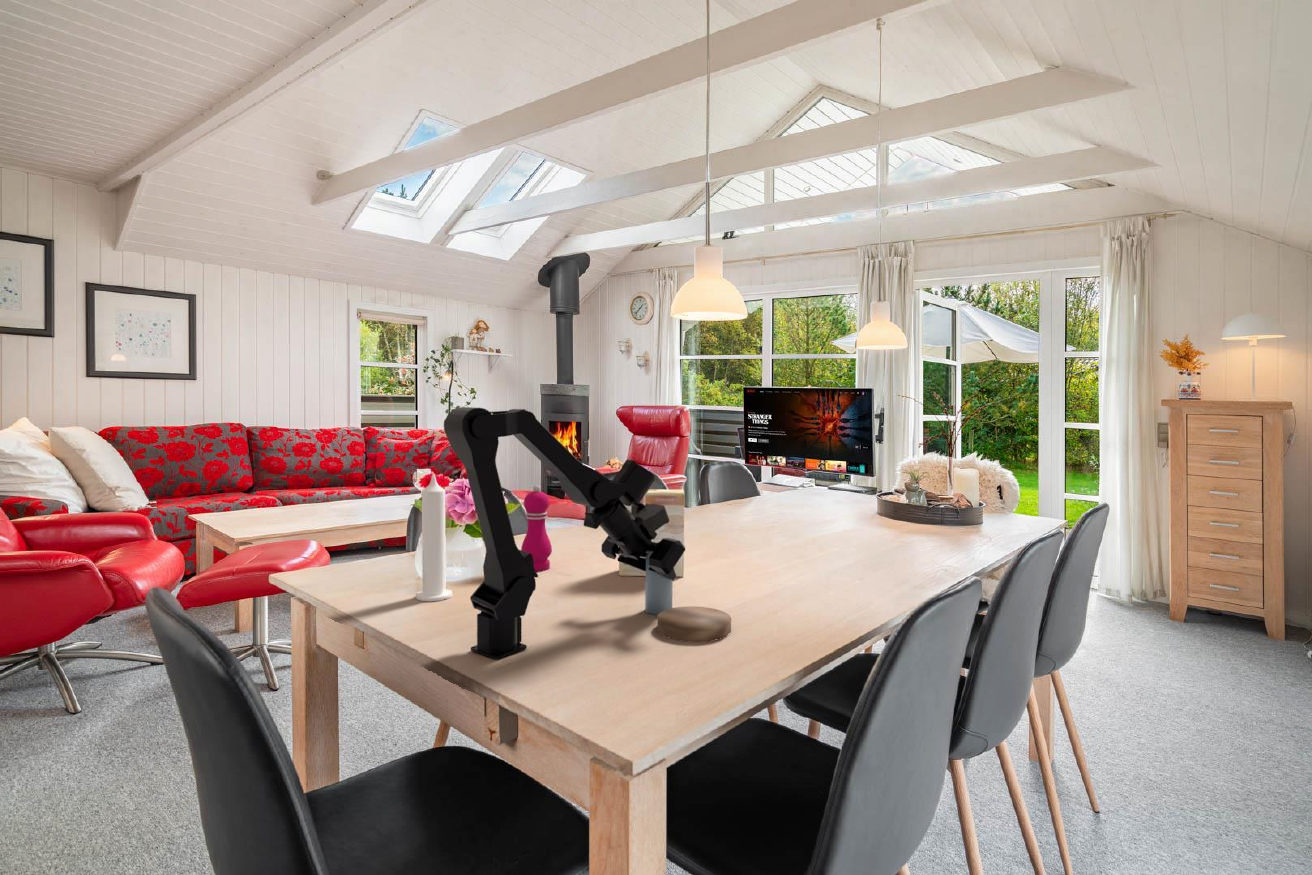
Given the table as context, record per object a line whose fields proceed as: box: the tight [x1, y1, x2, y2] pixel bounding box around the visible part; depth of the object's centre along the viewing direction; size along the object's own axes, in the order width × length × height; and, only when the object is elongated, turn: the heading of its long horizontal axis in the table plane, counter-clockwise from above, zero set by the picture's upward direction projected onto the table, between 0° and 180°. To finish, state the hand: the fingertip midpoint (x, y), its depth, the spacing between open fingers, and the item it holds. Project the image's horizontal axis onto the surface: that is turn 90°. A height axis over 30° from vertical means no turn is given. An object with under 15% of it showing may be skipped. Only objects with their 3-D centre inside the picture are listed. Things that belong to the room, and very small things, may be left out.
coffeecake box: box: [618, 488, 685, 578], centre depth 164 cm, size 15×7×20 cm, turn 88°
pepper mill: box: [520, 484, 553, 572], centre depth 167 cm, size 7×7×20 cm
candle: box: [415, 473, 453, 602], centre depth 142 cm, size 7×7×25 cm
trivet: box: [656, 605, 732, 643], centre depth 124 cm, size 13×13×2 cm
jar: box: [644, 554, 674, 616], centre depth 135 cm, size 5×5×12 cm
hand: (664, 575), depth 135 cm, fingers closed on jar, 5 cm apart
